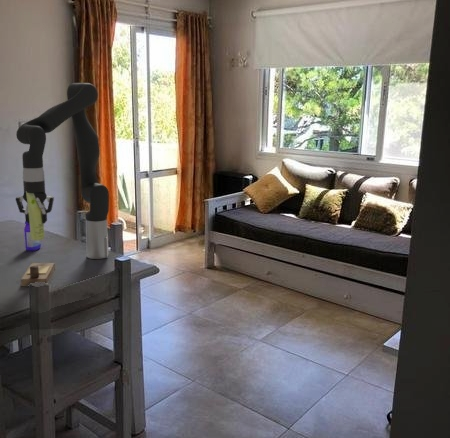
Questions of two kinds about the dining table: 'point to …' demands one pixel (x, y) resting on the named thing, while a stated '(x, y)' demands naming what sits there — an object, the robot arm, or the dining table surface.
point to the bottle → (29, 243)
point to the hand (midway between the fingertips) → (36, 222)
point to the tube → (35, 218)
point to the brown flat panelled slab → (38, 273)
